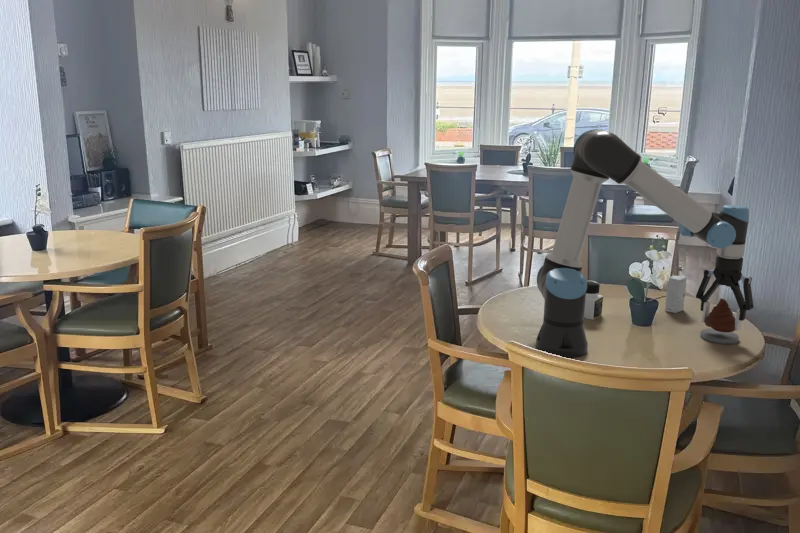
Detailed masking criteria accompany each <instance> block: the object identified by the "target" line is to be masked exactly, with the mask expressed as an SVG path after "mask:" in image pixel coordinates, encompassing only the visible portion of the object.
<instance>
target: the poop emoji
mask: <svg viewBox="0 0 800 533" xmlns="http://www.w3.org/2000/svg"><path fill="white" fill-rule="evenodd" d="M736 313H737V312H734V311H732V309H731V308H730V306H729V303H728V302H727V300H726V299H724V298H721V297H720V299H719V301H718V303H717V304H716V305H714V306H713V308H712V309H711V312H710V311H709V316H708V317H707V318H706V319H705V322H704V324H705V326H707V327H709V328H710V329H714V330H716V331H719V332H733V333H734V332H735V321H736Z"/></svg>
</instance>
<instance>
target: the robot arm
mask: <svg viewBox="0 0 800 533" xmlns="http://www.w3.org/2000/svg"><path fill="white" fill-rule="evenodd" d="M572 150H573V152H572V153H573V159H572V162H571V166H570V172H571V174H572V177H573V178H572V181H571V185H570V188H569V191H568V195H567V198H566V203H565V206H564V209H563V213H562V216H561V220H560V222H559V227H558V230H557V234H556V236H555V240H554V244H553V247H552V251H551V252H549V253H547V254H546V255H545V258H544V260H543V263H542V264H543V265H542V266H540V268H539V269H538V272H537V275H536V284H537V285H536V286H537V289H538V290H539V292H540V294H541V296H542V298H543V300H544V306H543V321H542V324H541V327H540V330H539V331H538V334H537V336H536V339H535V340H536V341H535V348H536V350H538V349H539V350H542V351H546V352H548V353H552V354H556V355H560V356H563V357H562V358H577V357H582V356H584V355H586V354H587V352H588V346H589V345H588V344H589V343H588V340H587V336H586V331H585V327H584V320H585V318H584V310H585V299H586V291H587V281H588V280H587V277H586V275H585V274H584V273H583V272H582V269H583V262H582V261H581V260H580V258H581V254H582V252H583V248H584V246H585V242H586V238H587V235H588V232H589V228H590V224H591V222H592V218H593V215H594V211H595V208H596V205H597V201H598V197H599V194H600V192H601V188H602V185H603V184H604V183H605V182H608V181H609V180H610V179H611V180H612V181H614V183H617V184H618V185H621V184H623V185H626V186H627V187H628V188H630V189H631V190H632V191H634V192H635V193H637V194H638V195H639V196H641V197H642V198H644V199H645V200H647V201H648V202H650V203H651V204H653V205H654V207H657V209H659V210H661V211H662V212H663V213H665V215H668V216H669V217H670V218H672V219H673V220H675V221H676V222H677V223H678V232H679V234H680V235H681V236H683V237H688V238H692V237H693V238H694V237H695V238H698V239H700V240H701V241H704V242H705V243H707V245H710V246H711V247H713V248H717V249H716V254H717V255H716V256H715V264H714V266H715V267H714V269H711V268H707V269H704V270H703V276H702V280H701V282H700V285H699V287H698V290H697V292H696V294H695V298H696V299H699V300H700V301H701V302H700V311H701V312H702V317H701V323H705V319H706V318H707V317H708V316H709V313H710V307H711V300H710V298H711V296H712V295H713V294H714V293H715V291H717V289H718V288H719V287H720V286H725V287H727V288H730V289H731V291H732V293H733V295H734V298H735V300H736V303H737V306H738V307H739V308H738V309H737V310H736V312H735V313H736V321H735V331H736V332H738V331H739V330H741V329H742V321H745V320H746V315H747V311H751V310H753V309H754V308H755V307H754V299H753V293H752V286H751V284H752V280H753V278H752V277H751V276H745V275H743V273H742V271H743V266H744V265H743V264H744V258H743V257H744V255H745V249H746V240H747V234H748V229H749V227H748V226H749V223H750V221H749V219H750V210H749V208H748V207H747V206H745V205H740V204H724V205H723V206H722V208H721V209H720V210H721V211H716V212H714V211H711V210H709V209H708V208H707V207H705V206H704V205H702V204H701V203H700V202H698V201H697V200H695V199H694V198H693V197H692V196H690V195H689V194H688V193H686V192H685V191H683V190H682V189H680V188H679V187H678V186H676V185H675V184H674V183H673V182H671V181H669V180H668V179H667V178H665V177H664V176H662V174H660V173H658V172H657V171H656V170H654V169H653V168H651V167H650V166H649V165H647V164H646V163H644V162H643V161H642V156H641V155H640V154H639V153H637V152H636V151H635V150H634V149H632V148H631V147H630V146H629V145H627V144H626V142H624V141H623V139H621V138H620V137H619V135H616V134H615V133H613V132H610V131H607V130H603V129H600V128H593V129H589V130H586V131H584V132H583V133H581V134H580V135H579V136H578V137H577V138H576V140H575V142H574V145H573V149H572ZM713 276H714V278H715V279H714V281H713V282H712V284H711V285H710V287H709V288H708V289H707V287H708V285H709V283H710V280H711V278H712V277H713ZM740 281H741V283H742V284H743V285H742V288H743V293H742V290H741V288H740V287H741V286H740V283H739V282H740ZM706 290H707V291H706ZM743 294H744V295H743ZM735 331H734V332H735ZM539 350H538V351H539Z"/></svg>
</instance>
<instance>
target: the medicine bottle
mask: <svg viewBox="0 0 800 533" xmlns="http://www.w3.org/2000/svg"><path fill="white" fill-rule="evenodd" d="M600 287H601V286H600V284H599V282H597V281H595V280H587V291H586V299H585V310H584V319H586V320H590V321H591V320H592V321H594V320H596V319H597V318H599V317H600V316H602V314H603V312H602V311H603V303H604V302H603V301H604V300H603V299H604V295H602V294H600Z"/></svg>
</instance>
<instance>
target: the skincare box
mask: <svg viewBox="0 0 800 533" xmlns="http://www.w3.org/2000/svg"><path fill="white" fill-rule="evenodd" d="M669 277H670V278H669ZM669 277H668V278H669V281H668V280H667V284H666V294H665V303H664V304H665V307H664V311H666V312H670V313H674V314H677V313H679V312H682V311H684V308H685V297H686V287H687V286H686V285H687V277H686V276H684V275H683V276H682V275H676V274H675V275H672V276H669Z"/></svg>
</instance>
